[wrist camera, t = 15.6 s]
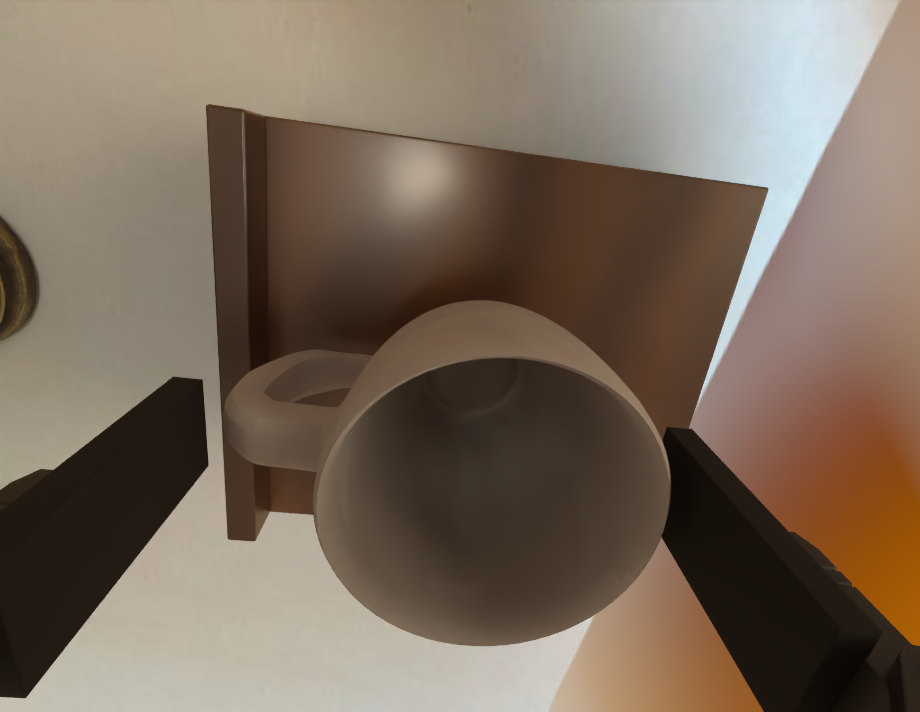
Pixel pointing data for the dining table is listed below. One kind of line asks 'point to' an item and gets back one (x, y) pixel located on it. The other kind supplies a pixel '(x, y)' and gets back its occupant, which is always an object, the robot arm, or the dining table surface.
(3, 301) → the container
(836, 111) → the dining table surface
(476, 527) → the mug
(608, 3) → the dining table surface
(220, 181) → the brown wooden box
